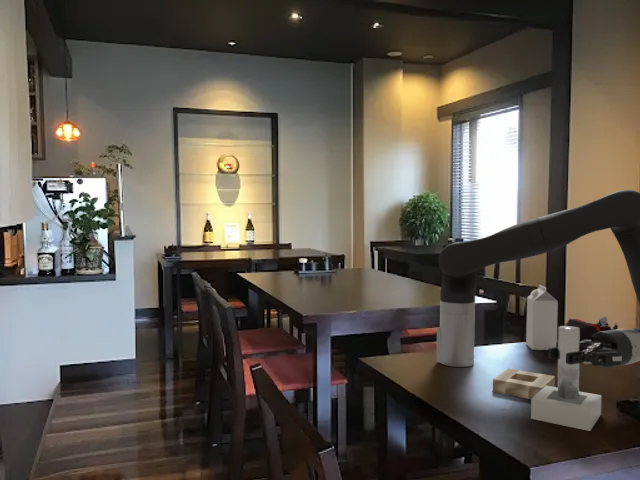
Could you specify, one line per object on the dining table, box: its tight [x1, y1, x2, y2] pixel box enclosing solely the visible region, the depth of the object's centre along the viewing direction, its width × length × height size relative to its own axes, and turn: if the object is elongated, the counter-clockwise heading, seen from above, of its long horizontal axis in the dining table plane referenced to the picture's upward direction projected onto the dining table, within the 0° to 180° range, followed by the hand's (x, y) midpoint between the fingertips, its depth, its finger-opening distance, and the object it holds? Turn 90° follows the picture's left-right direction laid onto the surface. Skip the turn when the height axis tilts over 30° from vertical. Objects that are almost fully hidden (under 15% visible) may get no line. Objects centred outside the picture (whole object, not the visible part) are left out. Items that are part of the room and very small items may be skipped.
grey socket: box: [530, 386, 602, 432], centre depth 116 cm, size 11×11×4 cm
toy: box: [564, 316, 619, 341], centre depth 175 cm, size 12×9×15 cm
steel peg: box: [557, 325, 580, 399], centre depth 115 cm, size 4×4×14 cm
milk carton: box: [525, 284, 559, 351], centre depth 173 cm, size 7×7×19 cm
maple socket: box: [492, 368, 556, 400], centre depth 133 cm, size 11×11×3 cm
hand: (558, 356), depth 114 cm, fingers closed on steel peg, 4 cm apart
